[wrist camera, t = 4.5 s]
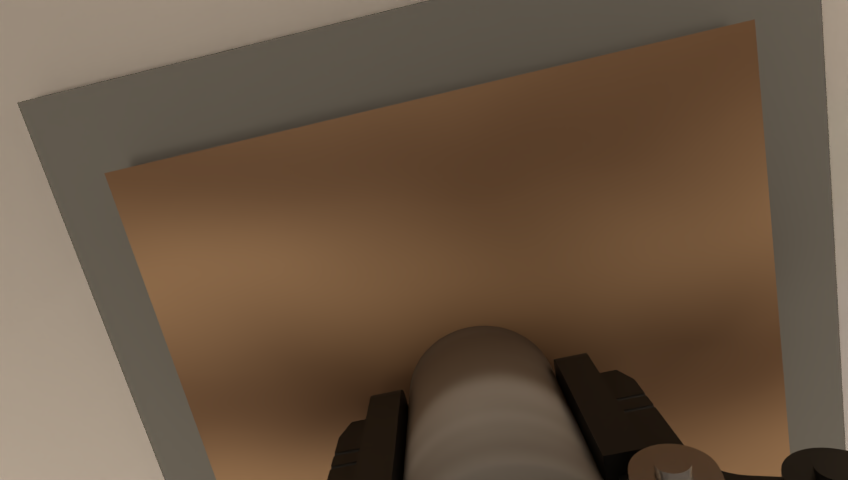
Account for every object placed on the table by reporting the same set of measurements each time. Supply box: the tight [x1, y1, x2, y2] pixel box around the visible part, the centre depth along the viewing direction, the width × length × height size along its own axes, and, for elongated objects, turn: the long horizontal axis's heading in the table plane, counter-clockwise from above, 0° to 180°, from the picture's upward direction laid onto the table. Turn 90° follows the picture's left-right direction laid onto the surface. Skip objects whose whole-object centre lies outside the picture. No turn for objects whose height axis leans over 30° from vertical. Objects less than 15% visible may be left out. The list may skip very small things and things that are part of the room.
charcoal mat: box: [18, 0, 846, 480], centre depth 14 cm, size 18×18×1 cm
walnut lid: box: [104, 19, 790, 480], centre depth 11 cm, size 14×14×6 cm
